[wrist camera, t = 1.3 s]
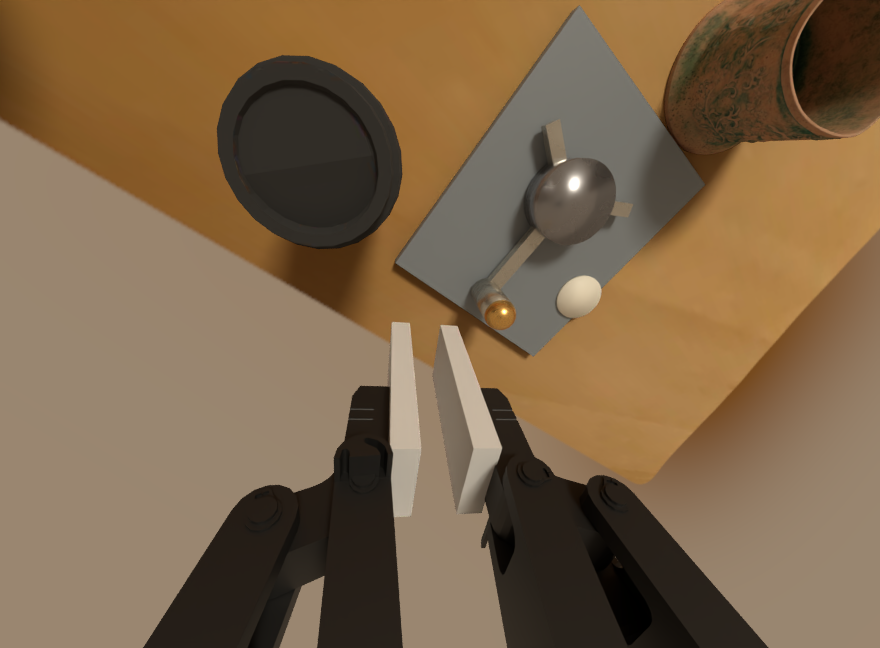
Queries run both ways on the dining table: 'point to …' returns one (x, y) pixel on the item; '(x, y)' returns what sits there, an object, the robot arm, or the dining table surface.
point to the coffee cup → (309, 152)
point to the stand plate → (518, 160)
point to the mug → (776, 74)
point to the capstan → (552, 218)
